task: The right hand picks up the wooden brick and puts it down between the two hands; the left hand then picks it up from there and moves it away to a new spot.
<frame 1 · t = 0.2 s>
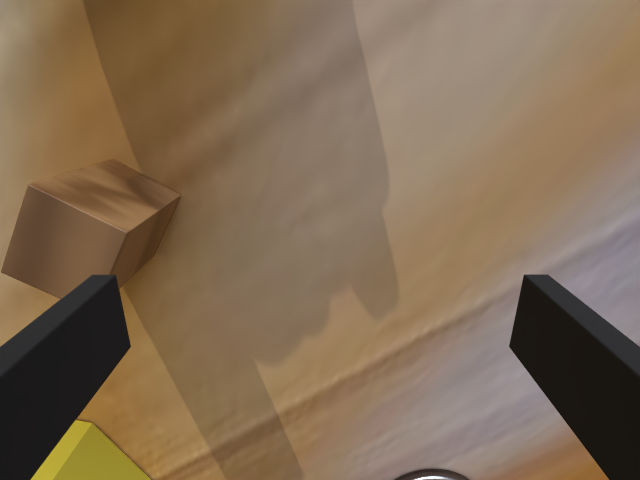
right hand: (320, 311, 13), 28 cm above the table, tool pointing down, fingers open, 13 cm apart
brick: (134, 209, 40), on the table
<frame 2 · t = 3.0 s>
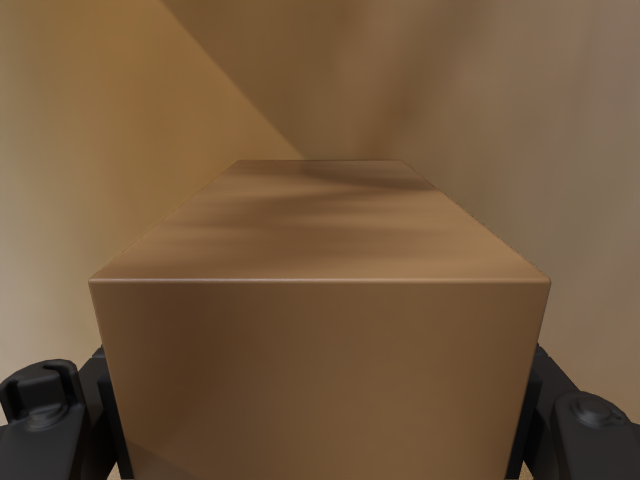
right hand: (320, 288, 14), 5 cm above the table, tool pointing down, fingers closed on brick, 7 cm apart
brick: (319, 242, 19), on the table, touching right hand
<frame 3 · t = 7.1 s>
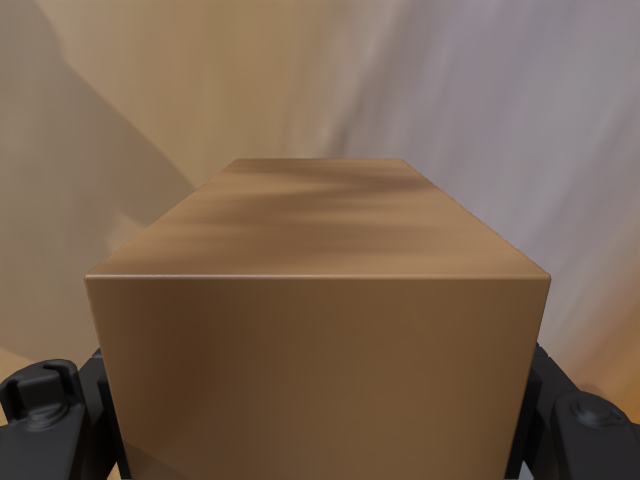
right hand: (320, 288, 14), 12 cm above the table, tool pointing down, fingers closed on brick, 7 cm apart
brick: (319, 241, 19), point 8 cm above the table, touching right hand
when the right hand's fingers open (6 cm above the table, at t = 11.1 s): brick drops 1 cm, on the table.
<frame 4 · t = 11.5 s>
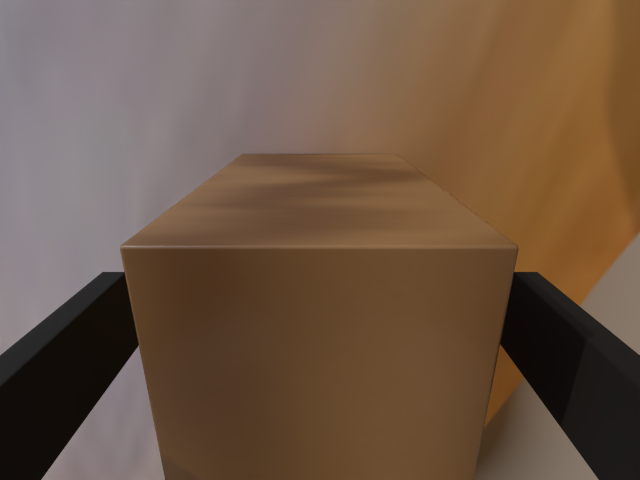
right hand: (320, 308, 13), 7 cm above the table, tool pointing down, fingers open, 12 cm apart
brick: (319, 232, 20), on the table
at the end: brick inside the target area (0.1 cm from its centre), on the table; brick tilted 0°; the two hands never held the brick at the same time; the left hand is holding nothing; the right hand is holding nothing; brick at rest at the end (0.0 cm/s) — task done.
